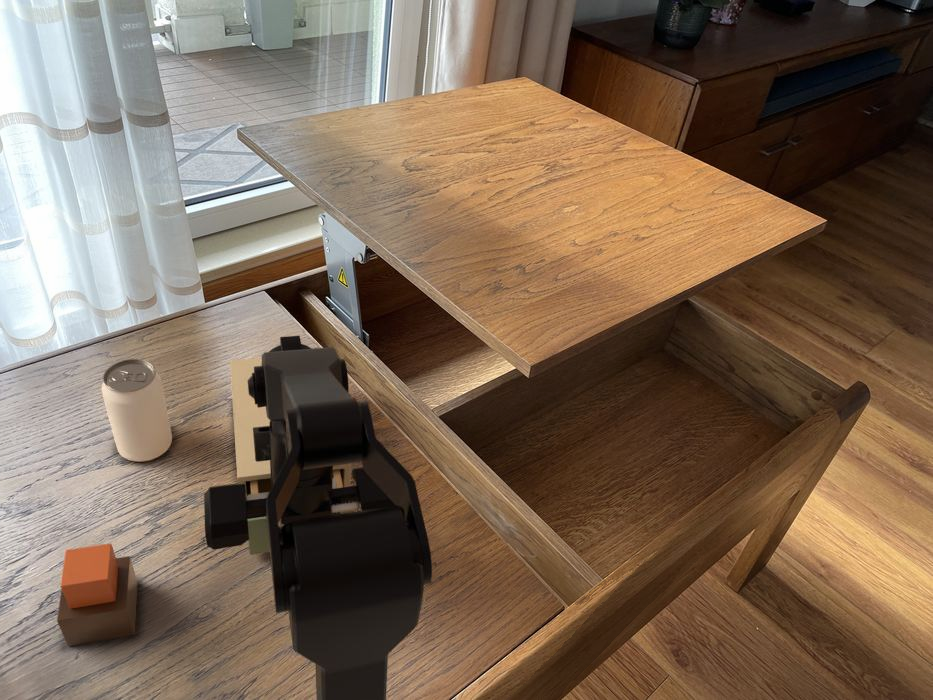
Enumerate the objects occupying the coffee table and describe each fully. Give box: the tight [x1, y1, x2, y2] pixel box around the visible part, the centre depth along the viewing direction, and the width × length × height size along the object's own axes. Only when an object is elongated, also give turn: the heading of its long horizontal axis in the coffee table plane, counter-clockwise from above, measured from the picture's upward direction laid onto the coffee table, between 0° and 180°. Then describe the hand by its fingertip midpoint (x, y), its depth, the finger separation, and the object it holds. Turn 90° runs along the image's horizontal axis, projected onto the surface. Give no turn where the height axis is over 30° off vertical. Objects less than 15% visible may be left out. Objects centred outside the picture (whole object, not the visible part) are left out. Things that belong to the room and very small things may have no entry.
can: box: [101, 358, 173, 463], centre depth 87 cm, size 6×6×12 cm
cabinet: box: [229, 357, 352, 501], centre depth 90 cm, size 20×13×8 cm, turn 16°
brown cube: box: [56, 555, 139, 647], centre depth 72 cm, size 6×6×5 cm
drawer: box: [247, 469, 354, 556], centre depth 84 cm, size 23×11×6 cm, turn 16°
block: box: [60, 543, 118, 609], centre depth 69 cm, size 4×4×4 cm
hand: (304, 551), depth 78 cm, fingers closed, pressing on drawer
